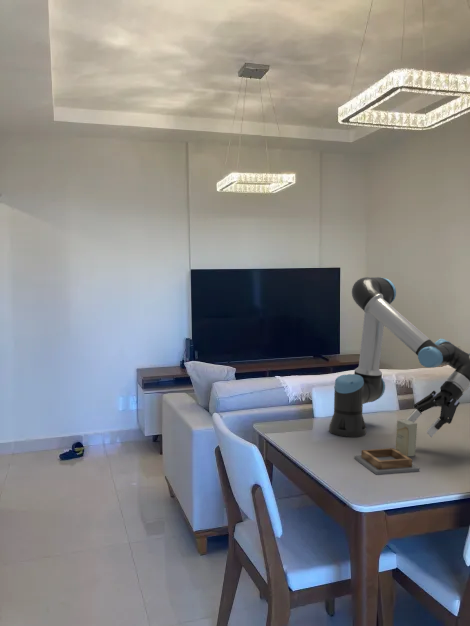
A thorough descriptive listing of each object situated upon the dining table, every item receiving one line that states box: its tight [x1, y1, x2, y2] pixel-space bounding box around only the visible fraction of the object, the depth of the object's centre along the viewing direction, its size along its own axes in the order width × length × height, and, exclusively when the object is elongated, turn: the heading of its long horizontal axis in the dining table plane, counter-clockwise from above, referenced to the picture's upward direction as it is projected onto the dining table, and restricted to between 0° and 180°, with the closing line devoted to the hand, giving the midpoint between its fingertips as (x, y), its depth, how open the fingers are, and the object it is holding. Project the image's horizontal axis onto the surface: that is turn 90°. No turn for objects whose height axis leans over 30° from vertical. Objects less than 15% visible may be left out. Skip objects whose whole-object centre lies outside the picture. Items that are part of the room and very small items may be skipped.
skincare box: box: [395, 418, 418, 458], centre depth 199 cm, size 6×4×12 cm
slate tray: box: [353, 454, 420, 475], centre depth 188 cm, size 16×16×1 cm
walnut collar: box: [360, 447, 413, 469], centre depth 188 cm, size 12×12×2 cm
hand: (417, 429), depth 199 cm, fingers open, 13 cm apart
